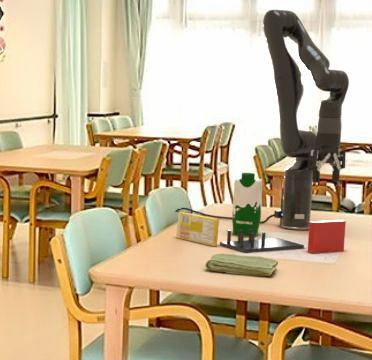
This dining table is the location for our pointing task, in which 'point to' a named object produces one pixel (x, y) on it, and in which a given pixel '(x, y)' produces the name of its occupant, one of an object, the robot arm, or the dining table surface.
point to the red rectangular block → (326, 236)
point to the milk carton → (247, 204)
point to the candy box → (197, 228)
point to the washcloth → (241, 264)
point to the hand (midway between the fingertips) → (325, 182)
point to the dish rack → (258, 243)
